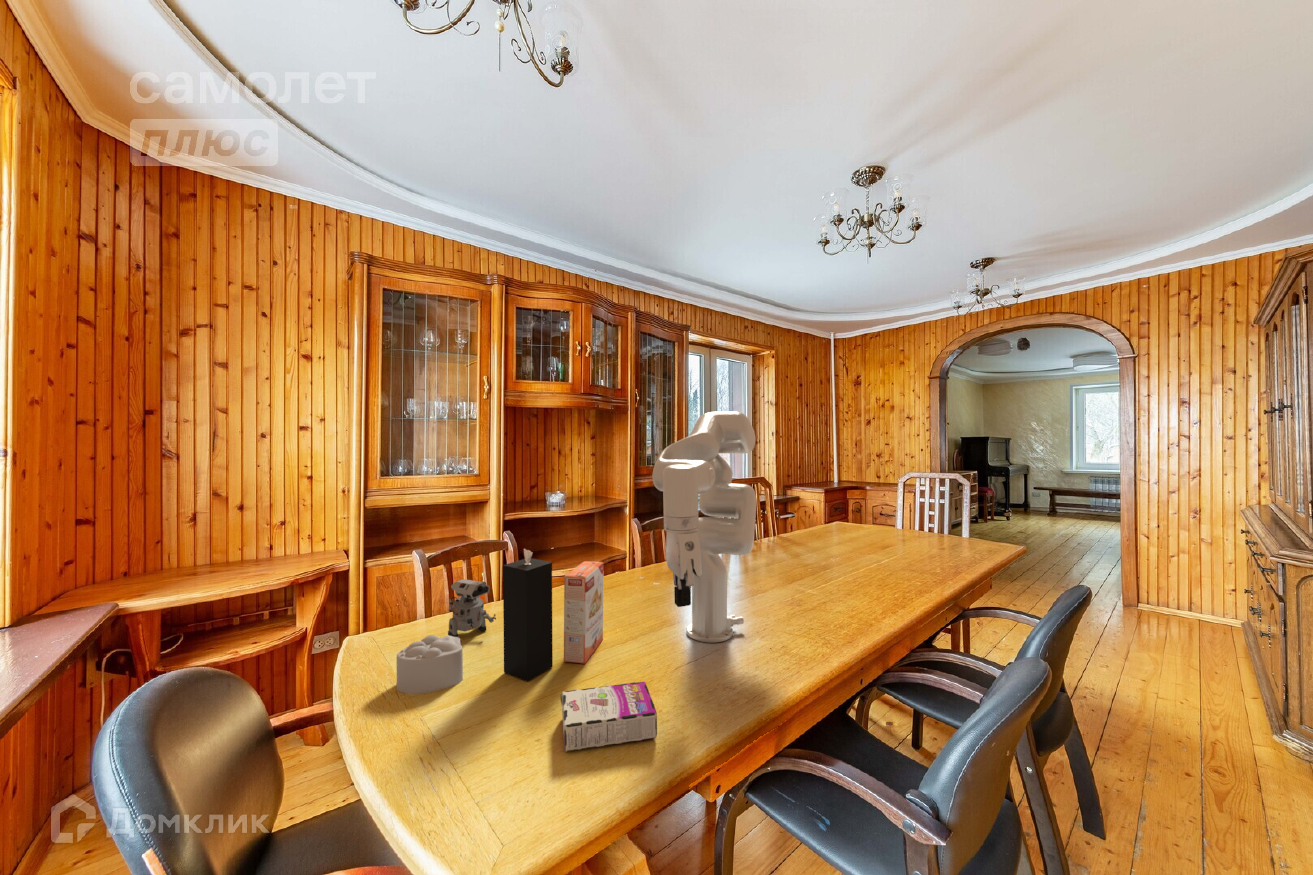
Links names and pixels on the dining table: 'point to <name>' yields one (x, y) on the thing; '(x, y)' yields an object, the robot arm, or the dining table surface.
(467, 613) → the figurine
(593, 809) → the dining table surface
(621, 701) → the candy bar box
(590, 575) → the cracker box
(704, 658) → the dining table surface
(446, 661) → the lumpy-topped squat cylinder
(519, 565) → the black tall square box
